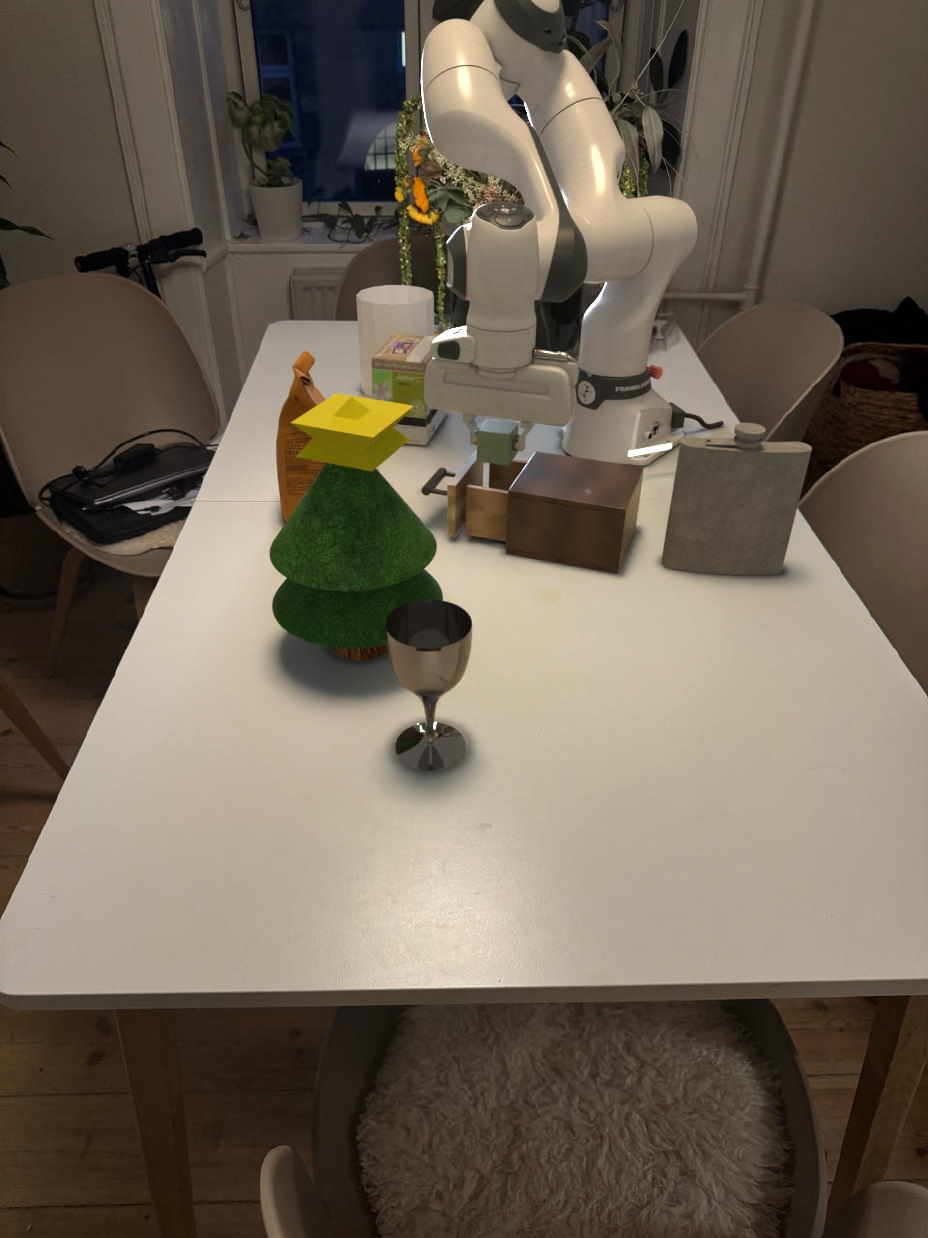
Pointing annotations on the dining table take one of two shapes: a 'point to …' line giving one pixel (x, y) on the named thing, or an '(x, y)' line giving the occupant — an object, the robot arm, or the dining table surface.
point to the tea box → (406, 384)
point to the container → (390, 320)
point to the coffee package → (296, 438)
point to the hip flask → (734, 503)
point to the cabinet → (573, 511)
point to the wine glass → (429, 675)
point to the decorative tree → (351, 534)
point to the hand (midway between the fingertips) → (497, 446)
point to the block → (496, 442)
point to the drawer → (477, 497)
